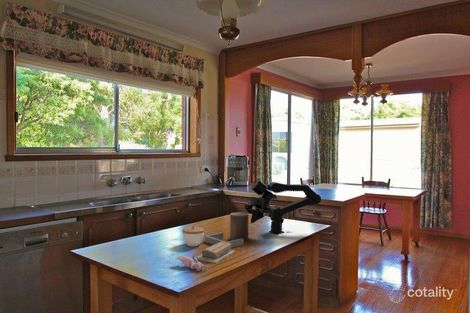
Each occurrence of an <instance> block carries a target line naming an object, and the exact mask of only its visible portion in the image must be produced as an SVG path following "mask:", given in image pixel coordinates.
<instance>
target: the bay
mask: <svg viewBox="0 0 470 313" xmlns="http://www.w3.org/2000/svg"><path fill="white" fill-rule="evenodd" d="M203 239H204V240H203V242H205V243H207V244H210V245H211V246H212V245H214V244H216V243H219V242H227V243H230V244H231V247H232V248H231V249H233V248H237V247H241V246H244V243H245V241H244V239H242V238H241V239H236V240H232V241H231V240H229V241H226V240H223V239H224V232H216V233H211V234H206V235H204V236H203Z"/></svg>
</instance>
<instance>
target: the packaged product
mask: <svg viewBox="0 0 470 313" xmlns="http://www.w3.org/2000/svg"><path fill="white" fill-rule="evenodd" d="M227 242H228V241H226V242H219V243H216V244H214V245H212V244H211V245H210V246H208V247H206V248H204V249H202V252H201V254H200V255H198V256H197V255H196V259H197V260H198V261H202V262H207V263H212V264H218V263H219V262H220V261H222V260H224V259H226V258H227V257H229V256H231V255H233V254H234V253H236V250H234V249H233V248H232V247H231V244H230V243H227Z"/></svg>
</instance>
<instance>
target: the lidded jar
mask: <svg viewBox="0 0 470 313" xmlns="http://www.w3.org/2000/svg"><path fill="white" fill-rule="evenodd" d="M181 232H182V234H181V235H182V240H183V242H184V243H185V244H186V246H188V247H199V245H200V244H201V243H202V242H203V241H204V240H203V239H204V236H205V233H204V232H205V229H204V228H203V227H201V226H195V225H192V226H187V227H184V228H182V230H181Z"/></svg>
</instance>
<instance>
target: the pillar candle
mask: <svg viewBox="0 0 470 313" xmlns="http://www.w3.org/2000/svg"><path fill="white" fill-rule="evenodd" d="M229 215H230V218H229V220H230V221H229V222H230V223H229V224H230V225H229V241H232V240H236V239H241V238H242V239H244V242H248V241H249V213H248V212H242V211H241V212H240V211H237V212H231V213H230V214H229Z"/></svg>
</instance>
